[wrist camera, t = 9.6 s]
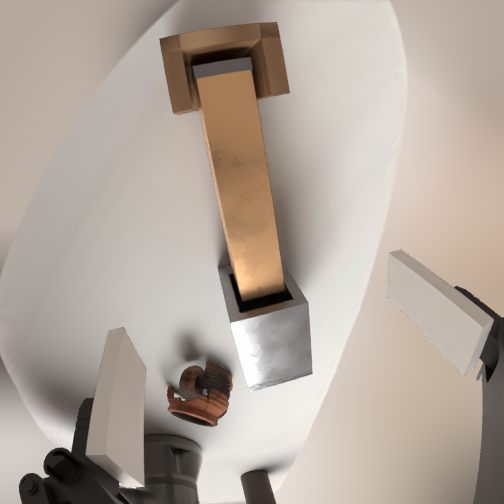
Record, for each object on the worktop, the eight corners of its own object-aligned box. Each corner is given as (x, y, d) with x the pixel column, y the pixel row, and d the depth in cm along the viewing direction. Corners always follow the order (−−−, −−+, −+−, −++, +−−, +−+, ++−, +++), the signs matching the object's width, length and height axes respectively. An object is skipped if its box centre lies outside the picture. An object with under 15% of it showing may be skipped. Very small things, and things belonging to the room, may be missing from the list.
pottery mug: (243, 384, 45) (231, 432, 39) (189, 376, 48) (175, 420, 42) (221, 350, 37) (204, 410, 31) (158, 341, 40) (137, 394, 34)
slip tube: (231, 270, 33) (241, 302, 27) (191, 77, 24) (192, 66, 18) (269, 261, 33) (286, 290, 28) (237, 68, 24) (250, 57, 19)
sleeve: (234, 332, 39) (249, 391, 30) (217, 267, 35) (230, 323, 26) (285, 319, 40) (312, 373, 31) (277, 253, 36) (308, 302, 27)
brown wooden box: (177, 114, 27) (173, 113, 18) (168, 63, 24) (159, 38, 16) (257, 99, 28) (289, 93, 19) (249, 49, 25) (276, 22, 16)
